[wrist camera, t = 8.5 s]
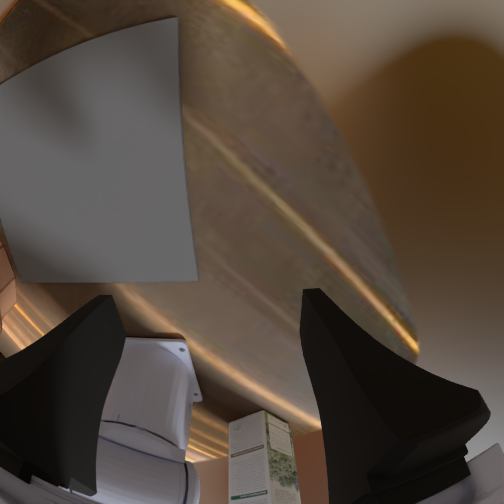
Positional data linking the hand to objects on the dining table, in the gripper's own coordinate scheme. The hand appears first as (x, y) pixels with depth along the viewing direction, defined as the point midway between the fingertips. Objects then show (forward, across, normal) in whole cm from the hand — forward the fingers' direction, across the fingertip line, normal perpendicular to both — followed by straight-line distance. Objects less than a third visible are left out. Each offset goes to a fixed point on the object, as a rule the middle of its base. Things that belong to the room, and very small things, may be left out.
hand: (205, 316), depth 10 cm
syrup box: (+10, -2, +26) cm, 28 cm away
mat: (+9, +11, -5) cm, 15 cm away
